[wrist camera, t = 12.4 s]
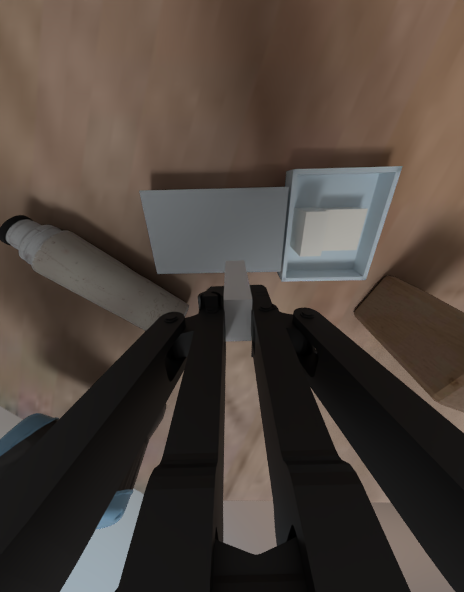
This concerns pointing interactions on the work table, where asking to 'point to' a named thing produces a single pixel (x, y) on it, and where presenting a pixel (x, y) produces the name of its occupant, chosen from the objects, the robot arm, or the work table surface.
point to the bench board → (216, 228)
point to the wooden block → (419, 337)
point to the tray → (338, 193)
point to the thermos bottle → (89, 272)
